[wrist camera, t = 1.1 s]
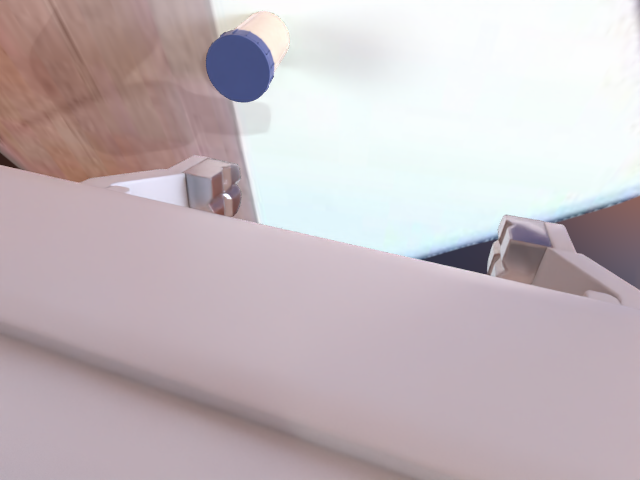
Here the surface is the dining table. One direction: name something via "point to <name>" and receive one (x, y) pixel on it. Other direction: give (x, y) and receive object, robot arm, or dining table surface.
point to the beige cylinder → (269, 33)
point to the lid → (240, 65)
